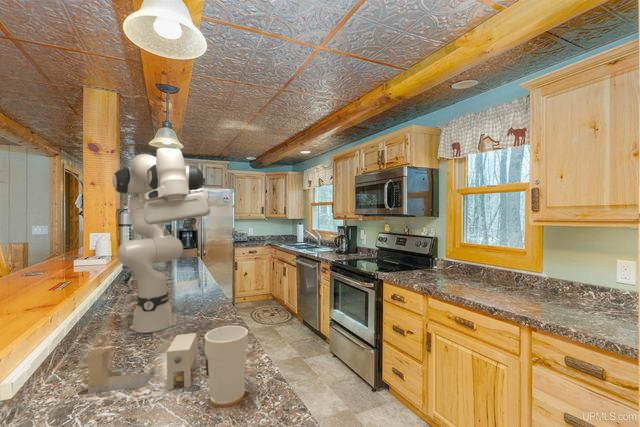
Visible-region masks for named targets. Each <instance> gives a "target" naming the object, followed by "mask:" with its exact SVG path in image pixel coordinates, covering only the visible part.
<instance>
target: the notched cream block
mask: <svg viewBox="0 0 640 427" xmlns="http://www.w3.org/2000/svg"><path fill="white" fill-rule="evenodd" d="M197 368H198V332H193V333H192V332H191V333H183V334H182V333H181V334H177V335H176V336H175V337H174V339H173V341H172V342H171V344H170V345H169V347H168V348H167V350H166V387H167V388H166V390H167V391H171V390H174V389H175V373H176V372H183V373H184V381H183V388H184V389H186V388H187V389H188V388H191V385H192V373H191V370H197Z"/></svg>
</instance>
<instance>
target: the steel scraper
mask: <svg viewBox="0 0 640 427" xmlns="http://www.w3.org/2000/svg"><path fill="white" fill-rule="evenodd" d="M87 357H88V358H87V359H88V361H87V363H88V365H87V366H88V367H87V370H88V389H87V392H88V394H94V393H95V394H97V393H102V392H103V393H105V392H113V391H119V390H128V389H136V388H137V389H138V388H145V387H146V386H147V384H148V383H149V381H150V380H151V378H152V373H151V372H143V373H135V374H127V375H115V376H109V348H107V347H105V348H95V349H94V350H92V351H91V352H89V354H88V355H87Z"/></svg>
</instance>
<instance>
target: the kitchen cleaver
mask: <svg viewBox="0 0 640 427" xmlns="http://www.w3.org/2000/svg"><path fill="white" fill-rule="evenodd" d="M198 349H200V350H201V349H202V350H201V351H202V352H203V354H204V360H205V371H206V376H207V377H209V371H208V356H207V355H206V353H205V342H203V343H200V344H198Z"/></svg>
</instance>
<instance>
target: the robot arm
mask: <svg viewBox="0 0 640 427" xmlns="http://www.w3.org/2000/svg"><path fill="white" fill-rule="evenodd" d="M183 155H184V154H183V153H182V151H181V149H180V148H177V147H171V146H163V147H160V148H157V149H156V153H155V156H154V155H153V154H147V153H141V154H138V155H136V156H134V158H132V160H131V164H130V167H126V166H124V167H123V168H122V169H118V170H117V171H116V172H114V174H113V176H112V185H113V188H114V189H115V192H116V193H117V192H118V193H119V194H123V195H124V194H125V195H127V194H131V195H130V197H129V201H128V206H129V207H128V210H129V216H130V222H131V226H132V230H133V232H134V233H135V234H137V235H139V236H140V237H144V238H139V239H138V238H137V239H131V240H127V241H124V242H122V243H120V245H119V246H118V249H117V252H116V254H117V258H118V260H119V262H120V263H121V264H122V265H124V266H126V267H127V268H129V269H130V270H131V272H133V274H134V276H135V277H136V282H137V292H138V293H137V294H138V296H137V297H136V298H137V299H136V303H137V304H136V305H137V306H136V307H135V308H134V309H133V321H132V324H131V325H130V326H129V330H132V331H134V332H136V333H141V334H142V333H143V334H144V333H147V334H149V333H154V332H159V331H162V330H165V329H167V328H170V327H171V328H172V327H174V326H177V325H178V312H177V313H176V312H173V304H172V303H171V302H170V301H169V299H170V298H169V297H170V296H169V292H170V291H169V290H168V281H167V276H166V274H165V273H164V272H162V271H159V270H156V269H154V267H153V264H157V263H158V264H159V263H165V262H166V263H167V262H171V261H174V260H177V259H180V257H181V256H182V255H183V252H184V244H183V243H182V241H181V240H180V239H179V238H177V237H175V236H174V235H172V234H170V232H169V230H168V229H166V228H164V226H165V223H170V222H176V221H182V220H188V219H193V218H194V219H195V220H196V222H195V224H193V225H192V229H193V231H199V230H200V228H199V224H200V222H201V220H202V218H201V217H204V216H209V215H210V214H211V207H210V203H209V199H210V196H209V192H208V191H207V190H206V189H203V188H202V186H203V184H204V174H203V171H201V169H200V168H199V167H198V166H196V165H186V163H185V159H184V156H183Z"/></svg>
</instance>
